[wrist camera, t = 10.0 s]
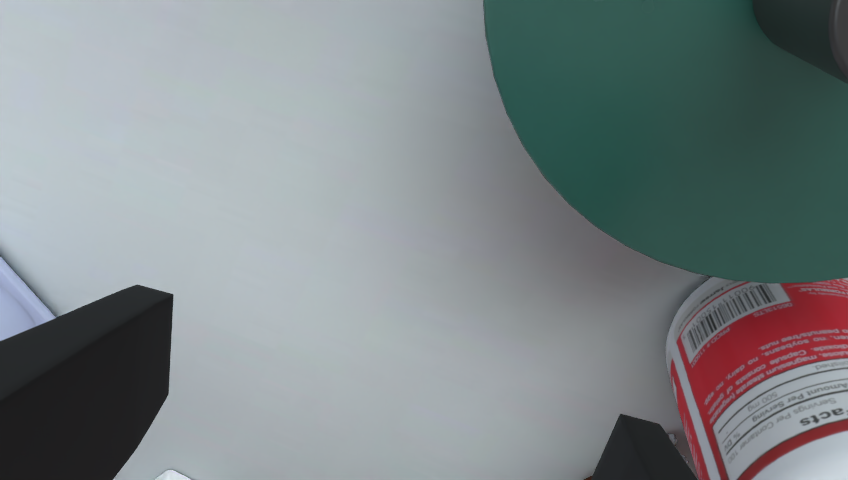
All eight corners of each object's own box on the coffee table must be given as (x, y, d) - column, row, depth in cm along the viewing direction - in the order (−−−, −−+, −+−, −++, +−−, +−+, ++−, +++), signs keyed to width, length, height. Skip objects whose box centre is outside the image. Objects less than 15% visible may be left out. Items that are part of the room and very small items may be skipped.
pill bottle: (831, 436, 22) (1074, 870, 12) (639, 398, 22) (719, 784, 12) (918, 269, 19) (1331, 652, 9) (697, 229, 19) (860, 552, 10)
